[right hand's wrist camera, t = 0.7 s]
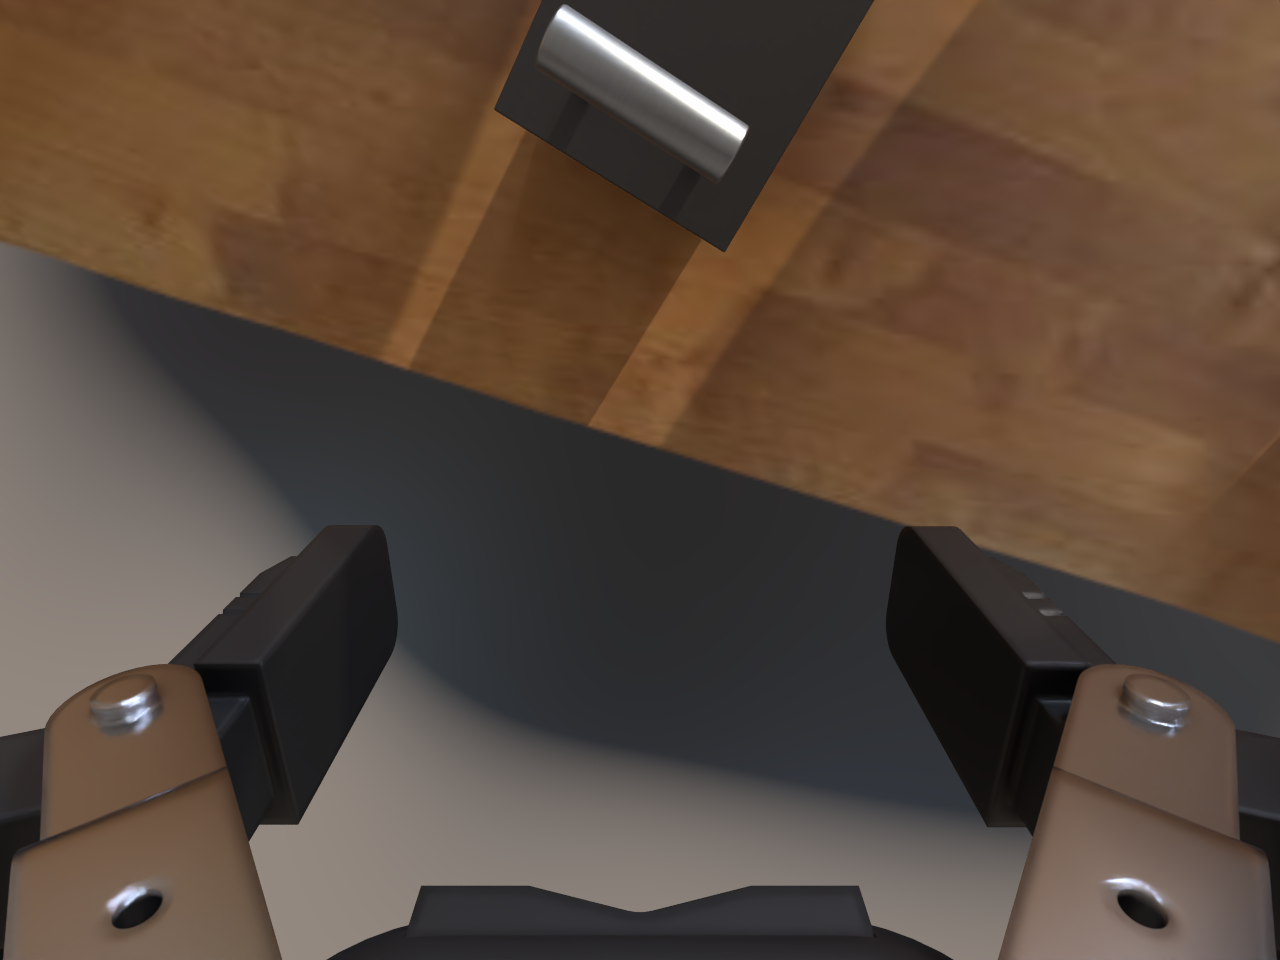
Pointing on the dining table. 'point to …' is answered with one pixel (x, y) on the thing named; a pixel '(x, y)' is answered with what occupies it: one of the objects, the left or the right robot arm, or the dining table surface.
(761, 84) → the lid
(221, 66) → the dining table surface
